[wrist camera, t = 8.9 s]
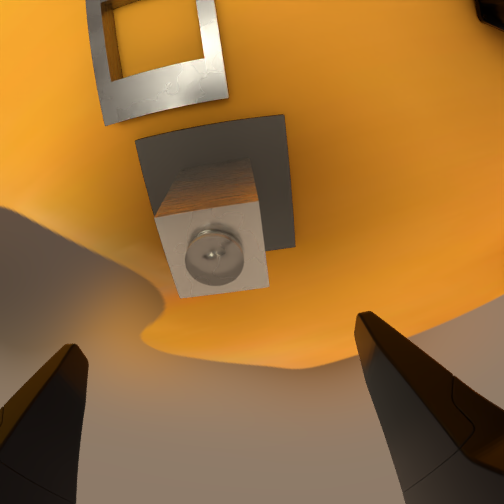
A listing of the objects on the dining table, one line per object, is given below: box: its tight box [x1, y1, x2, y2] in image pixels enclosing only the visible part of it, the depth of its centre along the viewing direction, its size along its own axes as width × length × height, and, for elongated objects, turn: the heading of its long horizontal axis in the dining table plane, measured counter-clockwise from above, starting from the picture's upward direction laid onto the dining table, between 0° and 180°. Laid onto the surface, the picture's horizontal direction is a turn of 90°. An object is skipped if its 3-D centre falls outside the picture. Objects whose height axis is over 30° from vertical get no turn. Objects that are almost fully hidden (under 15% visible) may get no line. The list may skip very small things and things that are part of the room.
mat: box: [135, 114, 295, 251], centre depth 19 cm, size 9×9×1 cm
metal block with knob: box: [154, 158, 269, 298], centre depth 15 cm, size 4×4×8 cm
